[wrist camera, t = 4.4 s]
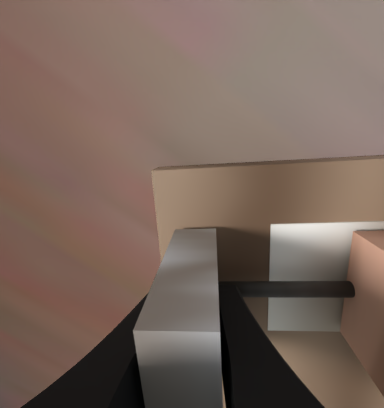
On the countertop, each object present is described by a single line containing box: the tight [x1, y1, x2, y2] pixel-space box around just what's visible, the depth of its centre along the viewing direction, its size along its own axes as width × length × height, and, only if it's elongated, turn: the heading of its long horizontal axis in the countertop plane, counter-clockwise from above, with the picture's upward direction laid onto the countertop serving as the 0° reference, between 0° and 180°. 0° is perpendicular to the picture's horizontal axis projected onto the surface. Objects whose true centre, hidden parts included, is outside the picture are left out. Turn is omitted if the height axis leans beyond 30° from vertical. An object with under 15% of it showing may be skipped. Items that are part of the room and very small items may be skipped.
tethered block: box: [133, 228, 384, 408], centre depth 7 cm, size 11×5×5 cm, turn 93°
